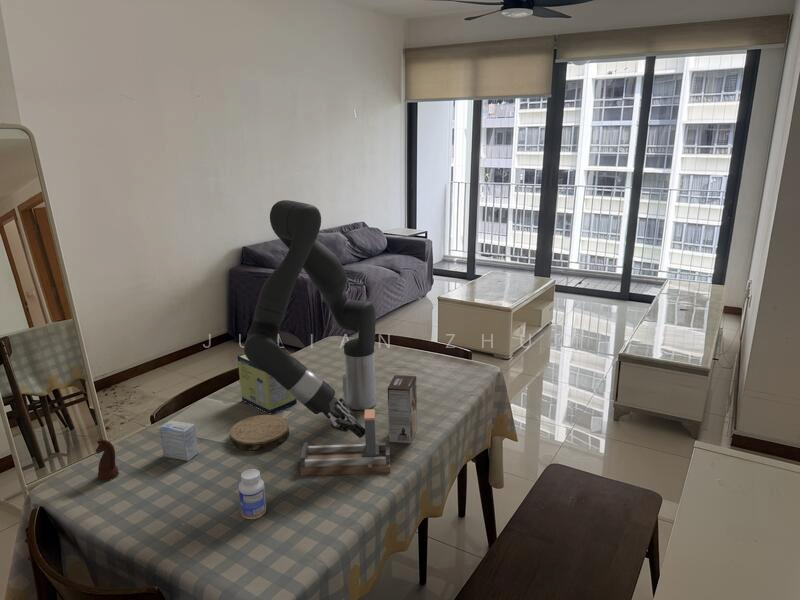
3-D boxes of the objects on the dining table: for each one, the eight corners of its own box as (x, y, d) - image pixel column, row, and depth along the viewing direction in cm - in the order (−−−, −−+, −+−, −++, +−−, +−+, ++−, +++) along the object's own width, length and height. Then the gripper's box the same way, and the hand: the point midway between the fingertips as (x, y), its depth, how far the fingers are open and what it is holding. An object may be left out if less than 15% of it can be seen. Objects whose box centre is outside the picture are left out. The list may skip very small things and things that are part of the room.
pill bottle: (243, 505, 125) (239, 467, 122) (268, 503, 125) (264, 465, 123) (239, 521, 120) (234, 481, 117) (264, 519, 120) (260, 479, 118)
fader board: (300, 475, 136) (299, 461, 135) (305, 453, 146) (304, 440, 145) (390, 472, 137) (390, 457, 136) (389, 450, 146) (389, 437, 145)
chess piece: (106, 470, 140) (100, 434, 137) (124, 471, 139) (118, 435, 137) (93, 480, 136) (87, 444, 133) (112, 482, 135) (106, 445, 132)
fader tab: (363, 461, 139) (361, 418, 135) (363, 451, 143) (361, 409, 140) (379, 460, 139) (377, 417, 136) (379, 450, 143) (377, 409, 140)
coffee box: (395, 426, 159) (394, 374, 155) (417, 427, 158) (416, 375, 154) (388, 442, 151) (386, 387, 146) (411, 444, 149) (410, 389, 145)
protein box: (268, 390, 185) (264, 346, 181) (297, 403, 175) (294, 357, 171) (240, 400, 177) (236, 355, 173) (270, 415, 167) (265, 367, 163)
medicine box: (199, 453, 147) (195, 423, 145) (187, 462, 143) (183, 431, 141) (174, 448, 150) (170, 419, 147) (163, 457, 146) (158, 427, 143)
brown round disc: (234, 457, 145) (233, 447, 144) (228, 430, 159) (227, 421, 159) (294, 445, 151) (294, 435, 150) (284, 419, 165) (283, 410, 164)
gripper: (318, 392, 129) (373, 437, 132) (324, 370, 141) (373, 412, 145) (297, 413, 130) (352, 458, 134) (304, 389, 143) (354, 431, 146)
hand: (363, 434), depth 139 cm, fingers closed
